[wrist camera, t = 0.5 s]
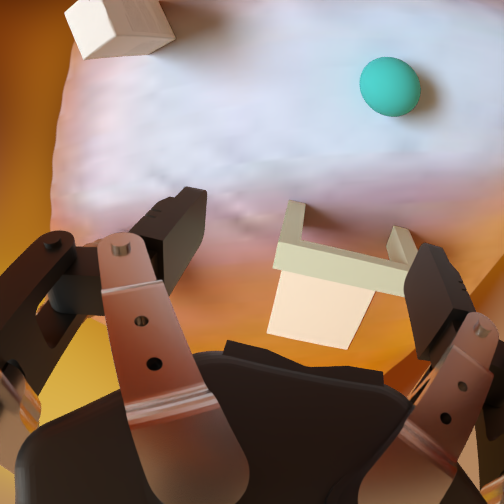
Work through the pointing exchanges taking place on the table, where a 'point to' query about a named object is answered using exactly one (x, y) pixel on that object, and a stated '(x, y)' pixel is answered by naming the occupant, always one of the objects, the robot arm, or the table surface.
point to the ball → (390, 86)
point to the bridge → (344, 257)
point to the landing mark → (317, 310)
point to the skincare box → (118, 27)
